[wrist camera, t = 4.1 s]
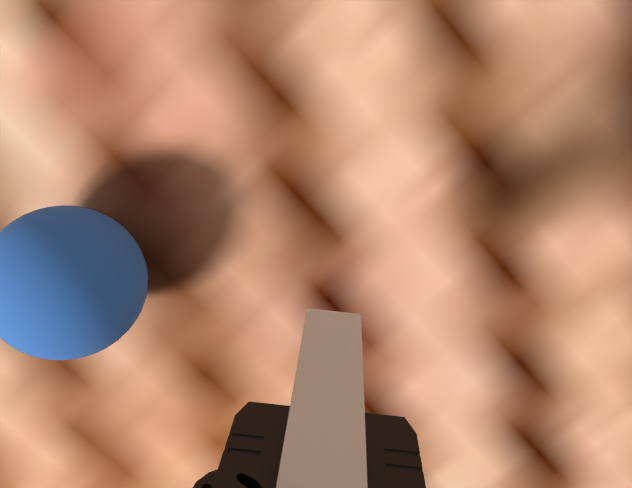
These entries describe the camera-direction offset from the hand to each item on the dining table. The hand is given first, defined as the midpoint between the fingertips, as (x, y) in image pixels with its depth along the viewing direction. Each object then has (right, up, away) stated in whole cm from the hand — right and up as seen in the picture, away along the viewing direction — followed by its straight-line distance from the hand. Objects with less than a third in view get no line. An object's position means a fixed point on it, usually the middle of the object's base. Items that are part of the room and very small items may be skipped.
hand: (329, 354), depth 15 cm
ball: (-9, +2, +4) cm, 10 cm away
